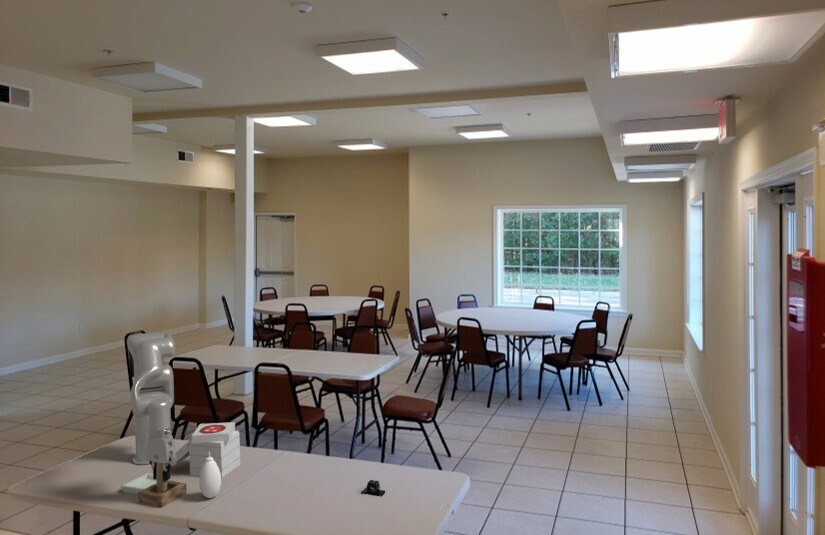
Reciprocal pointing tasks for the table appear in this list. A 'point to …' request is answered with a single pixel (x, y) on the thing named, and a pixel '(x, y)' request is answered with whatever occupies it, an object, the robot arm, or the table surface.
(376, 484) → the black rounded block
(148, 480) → the tray
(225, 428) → the pizza box stack
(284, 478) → the table surface
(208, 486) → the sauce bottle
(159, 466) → the handle
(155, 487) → the small wooden box
